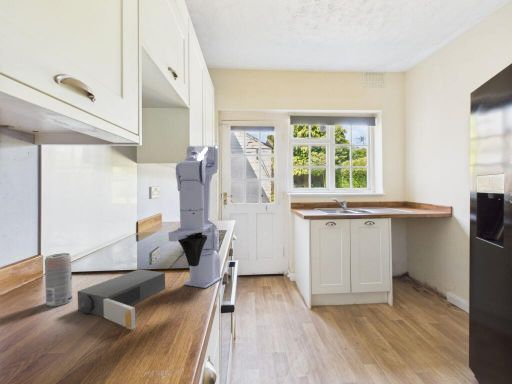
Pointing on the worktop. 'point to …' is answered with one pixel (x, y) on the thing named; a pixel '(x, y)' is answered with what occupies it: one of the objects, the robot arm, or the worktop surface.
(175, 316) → the worktop surface
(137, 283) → the camera housing
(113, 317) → the door
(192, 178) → the robot arm
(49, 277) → the energy drink
